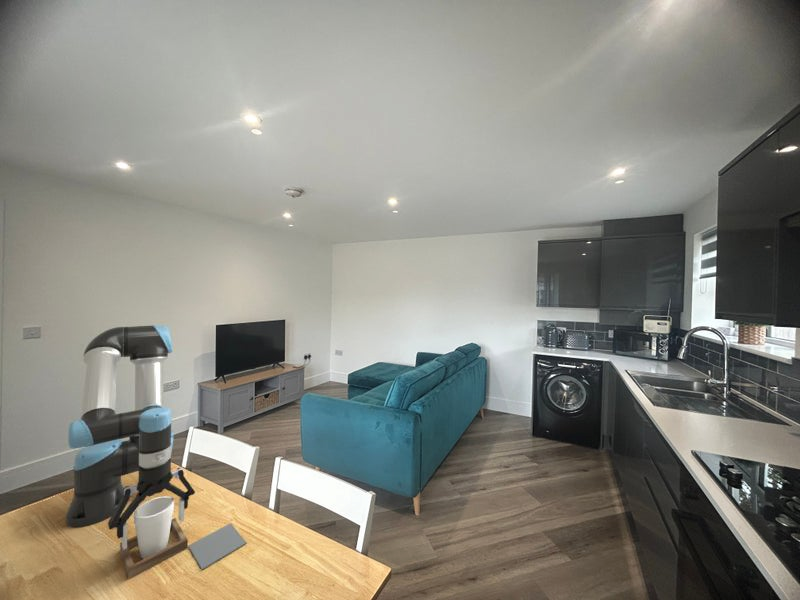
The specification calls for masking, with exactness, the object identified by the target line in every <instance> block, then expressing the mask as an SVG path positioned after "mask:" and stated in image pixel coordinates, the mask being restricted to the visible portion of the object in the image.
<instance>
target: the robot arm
mask: <svg viewBox="0 0 800 600" xmlns="http://www.w3.org/2000/svg"><path fill="white" fill-rule="evenodd" d="M172 352H173V342H172V338H171V332H170V330H169V328H168V327H167V326H165V325H154V324H153V325H140V326H139V325H136V326H118V327H116V326H115V327H113V328H109V329H107V330H105V331H102V332H100V333H99V334H98V335H97V336H95V337H94V338H93V339H92V340H91V341H89V343H88V344H87V346H86V348H85V350H84V352H83V359H82V361H83V362H84V364H85V365H86V369H85V370H86V371H85V377H84V378H85V379H84V386H83V387H84V388H83V396H82V405H81V414H80V416H81V417H80V419H79V420H76V421H73V422H71V423H70V424H69V428H68V434H67V435H68V440H67V442H68V447H69V448H70V449H81V448H82V449H81V450H80V451H78V452H77V454H76V455H75V457H74V465H73V468H72V469H73V472H74V479H73V481H74V482H73V498H72V500H71V503H70V505H69V507H68V510H67V512H66V514H65V523H66V525H67V526H69V527H73V528H79V527H80V528H81V527H85V526H90V525H94V524H97V523H100V522H101V521H105V520H107V519H108V520H109V521H108V522H107V527H108V529H109V530H113V529H115V528H116V537H117V539H121V542H122V547H123V550H124V549H126V548H127V540H128V523H127V521H128V520H129V519H130V517H132V515H134V511H135V510H136V509H137V508H138V507H139V506H140V505H141V503H142V502H144V500H145V499H146V497H149V498H150V497H152V496H154V495H156V494H160V493H162V492H163V491H164V490H167V491H168V492H170V493H172V494H174V495H176V496H177V497H178V520H179V521H180V523H184V522H185V510H186V509H188V507H189V506H188V505H189V503H188V502H189V500H190V496H192V495H194V494H195V493H196V491H195V490H194V488H193V487H192V485H191V484H190V483H189V481H188V480H187V478H186V477H185V476H184V475H185V474H184V470H183V468H181V467H177V469H176V470H175V471H172V459H171V457H172V452H173V447H174V430H172V422H173V418H172V410H171V409H170V408H169V407H165V406H164V361H166V360H167V359H168V356H169V354H171V353H172ZM128 357H129V362H130V363H131V364H133V365H134V369H135V370H134V371H135V372H134V410H131V411H126V412H121V413H117V411H116V408H117V402H116V401H117V380H118V379H117V378H118V377H117V374H118V373H117V372H118V362H119V361H120V360H121V358H128ZM126 438H129V439H128V440H124V439H126ZM122 439H123V440H122ZM136 472H138V479H137V481H138V482H137V484H136V485H133V486H129V485H127V486H124V485H123V484H122V477H123V476H126V475H129V474H133V473H136ZM173 477H174V478H176V479H179V480H180V482H181V483H182V485H183V486H184V487H185V489H186V491H184V490H182V489H180V488H179V487H177V486H176V485H174V484H172V483H171V480H172V479H173ZM135 491H138V493H137V494H136V495H135V497H134V499H133V500H132V501H131V502H130V504H129V505H128V502H129V501H130V498H131V496H133V494H134V492H135ZM127 505H128V506H127ZM126 506H127V507H126ZM125 508H126V509H125Z"/></svg>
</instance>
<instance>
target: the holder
mask: <svg viewBox="0 0 800 600" xmlns="http://www.w3.org/2000/svg"><path fill="white" fill-rule="evenodd" d="M170 531H172V533H173V535H174V537H175V538H176V540H177V542H174V543H173V544H170V545H169V546H167V547H166V548H165V549H163V550H161V551H159V552H157V553H155V554H153V555H151V556H149V557H147V558H142V559H141V560H140V561H139V560H138V561H137V562H136V563H134V561H133V558H132V554H131V552H130V550H131V549H133V548H136V547H139V545H138V539H137V534H136V535H134V536H133V537H131V538H127V548H126V549H124V550H123V547H122V541H121V542H119V543H120V547H119V548H120V550H119V551H120V555H121V558H122V562H123V566H124V568H125V572H126V574H127V575H126V576H127V578H128V580H130V579H131V578H133V577H135V576H137V575H139V574H141V573H143V572H145V571H146V570H148V569H150V568H153V567H154V566H156V565H158V564H159V563H162V562H164V561H165V560H167V559H169V558H171V557H173V556H175V555H176V554H179V553H181V552H183V551H184V550H186V549H188V548H189V545H188V542H189V541H188V538H187V536H186V534H185V533H184V531H183V530H182V527H181V526H180V524H179V522H178V521H177V518H175V517H174V518H172V521H171V527H170Z"/></svg>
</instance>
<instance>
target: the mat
mask: <svg viewBox="0 0 800 600" xmlns="http://www.w3.org/2000/svg"><path fill="white" fill-rule="evenodd" d="M246 544H247V541H246V539H244V538H243V536H242V535H241V534H240V533H239V531H238V530H237V529H236V528H235V526H234V525H233V523H229V524H227V525H224V526H222V527H221V528H219V529H217V530H215V531H213V532H212V533H209V534H207V535H205V536H204V537H202V538H200V539H198V540H196V541H194V542H192V543H191V544H189V545H188V548H189V550H190V552H191V553H192V556H193V557H194V559H195V561H196V563H197V564H198V566H199V568H200V570H201V571H204V570H206V569H207V568H208V567H210V566H212V565H214V564H215V563H217V562H218V561H220V560H222V559H224V558H226V557H227V556H228V555H230V554H232V553H234V552H235V551H237V550H238V549H240V548H242V547H243V546H245V545H246Z"/></svg>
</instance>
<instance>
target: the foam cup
mask: <svg viewBox="0 0 800 600" xmlns="http://www.w3.org/2000/svg"><path fill="white" fill-rule="evenodd" d="M174 510H175V498H174V497H172V496H168V495H164V496H159V497H154V498H151V499H150V500H147V501H145V502H143V503H142V504H139V506H138V507H137V508H136V510H135V511H134V512H133V525H135V526H134V527H135V532H136V535H137V539H138V551H139V555H140V557H141V558H142V559H145V558H147V557H149V556H151V555H153V554H155V553H157V552H159V551H161V550H163V549H165V548H167V547H168V543H169V538H170V532H171V530H170V527H171V521H172V519H173V516H174V515H173V513H174Z"/></svg>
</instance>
